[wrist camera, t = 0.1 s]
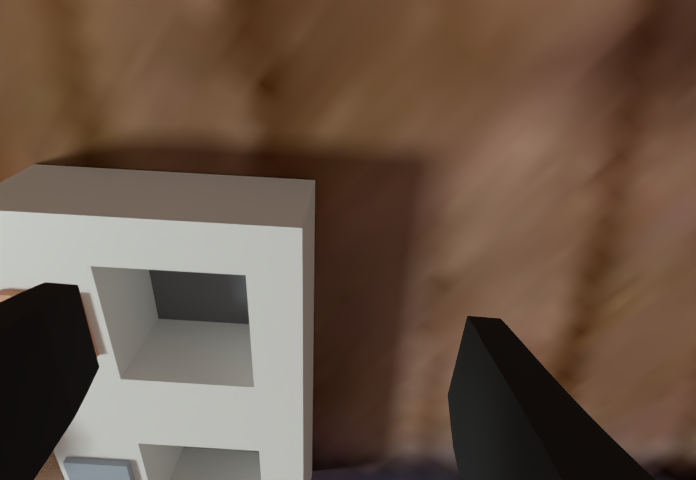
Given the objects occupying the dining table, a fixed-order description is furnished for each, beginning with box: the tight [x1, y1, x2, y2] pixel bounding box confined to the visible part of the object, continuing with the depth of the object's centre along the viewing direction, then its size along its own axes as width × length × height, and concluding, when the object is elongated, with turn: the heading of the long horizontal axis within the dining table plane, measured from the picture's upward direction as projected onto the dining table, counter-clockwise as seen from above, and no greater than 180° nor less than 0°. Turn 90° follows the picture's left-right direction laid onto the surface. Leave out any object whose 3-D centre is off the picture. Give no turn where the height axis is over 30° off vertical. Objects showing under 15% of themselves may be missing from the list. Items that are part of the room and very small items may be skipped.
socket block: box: [0, 164, 315, 480], centre depth 21 cm, size 18×11×4 cm, turn 177°
